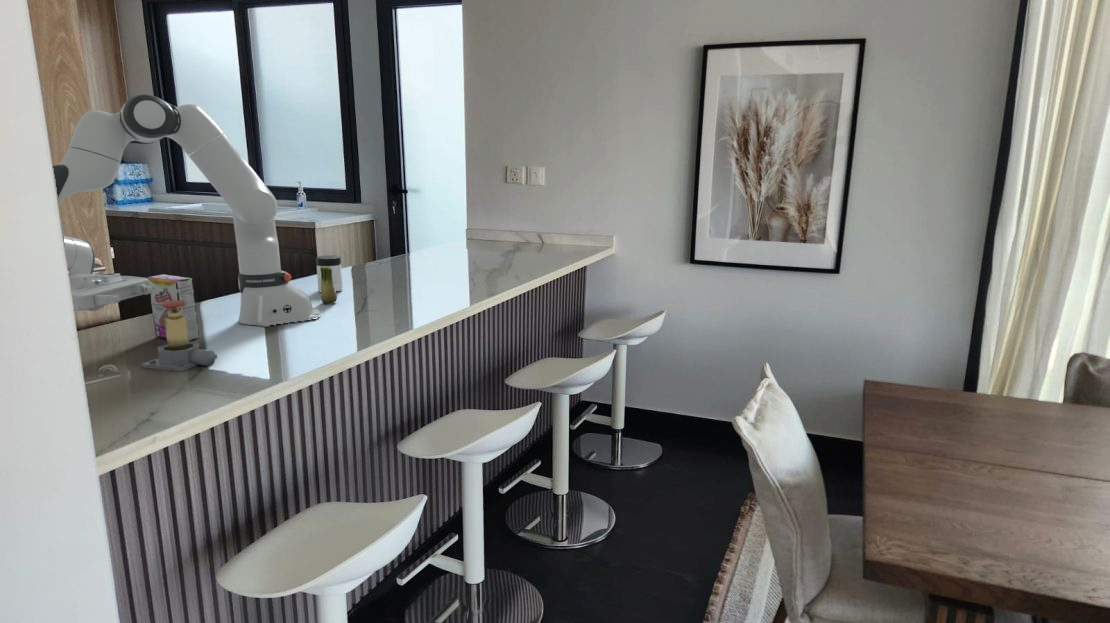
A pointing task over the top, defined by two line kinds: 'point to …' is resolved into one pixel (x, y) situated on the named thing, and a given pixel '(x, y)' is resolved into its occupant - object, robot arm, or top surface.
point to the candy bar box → (171, 291)
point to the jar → (335, 265)
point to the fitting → (181, 358)
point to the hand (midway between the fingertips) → (134, 294)
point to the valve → (176, 326)
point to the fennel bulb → (327, 286)
